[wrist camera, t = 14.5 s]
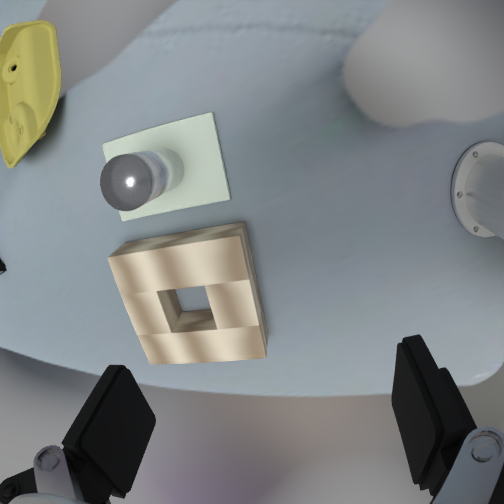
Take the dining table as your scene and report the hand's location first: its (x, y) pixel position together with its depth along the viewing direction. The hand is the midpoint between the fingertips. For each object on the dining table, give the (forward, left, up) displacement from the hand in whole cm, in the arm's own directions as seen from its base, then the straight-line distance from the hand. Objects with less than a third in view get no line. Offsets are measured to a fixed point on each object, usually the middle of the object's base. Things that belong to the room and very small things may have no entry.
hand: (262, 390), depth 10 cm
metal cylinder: (+12, -6, -27) cm, 30 cm away
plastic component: (+30, -22, -29) cm, 47 cm away
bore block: (+12, +10, -28) cm, 32 cm away
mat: (+12, -6, -28) cm, 31 cm away
